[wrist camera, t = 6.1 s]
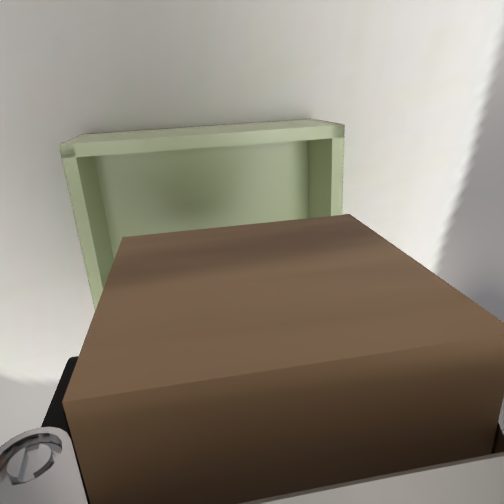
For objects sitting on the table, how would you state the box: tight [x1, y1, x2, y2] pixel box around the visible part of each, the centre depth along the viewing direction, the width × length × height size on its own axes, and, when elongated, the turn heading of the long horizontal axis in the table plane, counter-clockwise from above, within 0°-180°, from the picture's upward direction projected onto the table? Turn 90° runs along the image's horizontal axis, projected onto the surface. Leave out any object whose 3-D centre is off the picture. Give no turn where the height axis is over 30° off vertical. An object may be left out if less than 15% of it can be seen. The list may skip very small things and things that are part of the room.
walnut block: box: [62, 214, 504, 504], centre depth 9 cm, size 6×6×6 cm
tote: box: [59, 119, 344, 311], centre depth 23 cm, size 9×13×5 cm
